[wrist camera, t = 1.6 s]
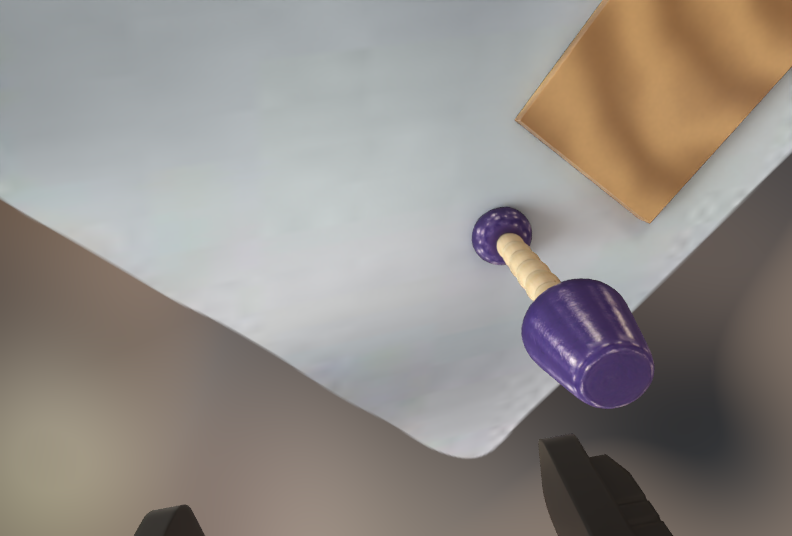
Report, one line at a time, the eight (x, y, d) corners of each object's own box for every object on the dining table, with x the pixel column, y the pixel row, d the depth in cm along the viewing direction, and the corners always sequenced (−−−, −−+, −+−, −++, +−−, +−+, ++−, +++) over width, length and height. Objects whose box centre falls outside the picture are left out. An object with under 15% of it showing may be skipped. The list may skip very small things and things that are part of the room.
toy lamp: (519, 273, 32) (657, 434, 16) (458, 265, 32) (540, 424, 16) (536, 210, 30) (707, 324, 15) (472, 201, 30) (579, 309, 14)
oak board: (757, -211, 23) (777, -227, 22) (882, -52, 26) (905, -60, 24) (514, 119, 28) (519, 120, 27) (639, 219, 31) (650, 224, 30)
